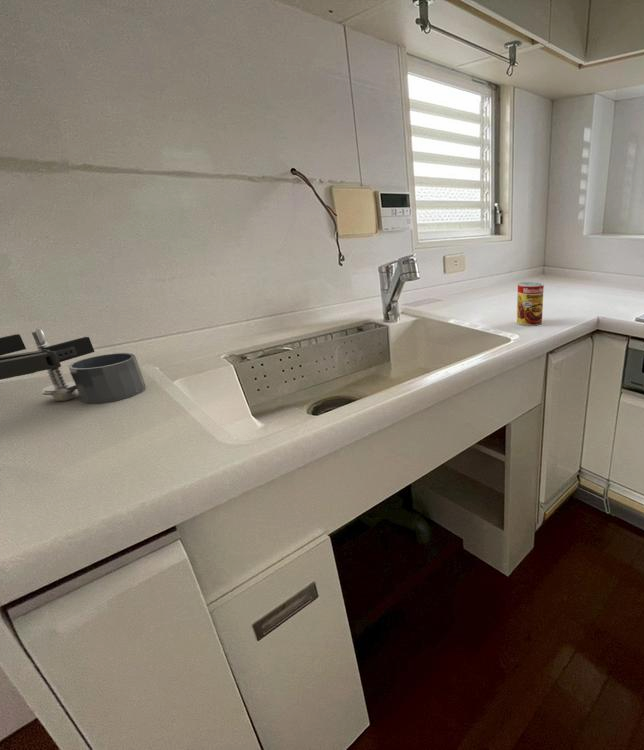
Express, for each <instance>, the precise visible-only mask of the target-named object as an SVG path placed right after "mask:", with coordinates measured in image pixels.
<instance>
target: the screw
mask: <svg viewBox="0 0 644 750" xmlns="http://www.w3.org/2000/svg"><path fill="white" fill-rule="evenodd" d="M31 335H32V337H33V339H34V341H35V344H36V346H35V347H36V348H37V351H40V350H42V348H44V347H48V346H52V345H50V341H48V339H47V337H46V335H45V333H44V331H43V330H42V329H39V328H34V329H33V330H32V331H31ZM46 371H47V372H46V374H48V377H49V380H51V383H52V384H51V385H49V386H46V387H44V388H43V390H42V391H41V393H42V395H44V396H52V397H53V399H54V401H55V402H65V401H69V400H73V399H75V397H76V396H77V393H76V391H77V388H76V386H75V383H74V381H67V379H66V376H65V374H64V373H63V370H62V367H58V369H56V370H53V371H52V369H48V370H46Z"/></svg>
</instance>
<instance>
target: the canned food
mask: <svg viewBox="0 0 644 750" xmlns="http://www.w3.org/2000/svg"><path fill="white" fill-rule="evenodd" d="M544 286H545V284H544V283H542V282H536V281H524V282H518V283H517V300H516V301H517V304H516V323H517V324H518V325H521V326H527V327H533V326H540V325H542V324H543V308H544V306H543V305H544V289H545V288H544Z"/></svg>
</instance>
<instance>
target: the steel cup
mask: <svg viewBox="0 0 644 750" xmlns="http://www.w3.org/2000/svg"><path fill="white" fill-rule="evenodd" d="M67 369H68V371H69V374H70V376H71V378H72V382H74V383H75V386H76V388H77V389H76V391H77V393H78V395H79V397H80V399H81V401H82V402H83V403H85V404H91V405H92V404H93V405H96V404H97V405H98V404H108V403H113V402H117V401H121V400H122V401H123V400H126V399H128V398H131V397H134V396H137V395H139V394H141V393H142V392H144V391H145V390H146V388H147V387H146V383H145V380H144V377H143V374H142V371H141V368H140V366H139V362H138V360H137V357H136V355H135V354H134V353H129V352H115V353H106V354H100V355H99V354H98V355H94V356H89V357H86V358H82V359H78V360H76V361H74V362H71V363H69V364H68V365H67Z"/></svg>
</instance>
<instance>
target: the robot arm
mask: <svg viewBox="0 0 644 750" xmlns="http://www.w3.org/2000/svg"><path fill="white" fill-rule="evenodd" d="M25 350H27V347H26V345H25V343H24V341H23V338H22V336H21V334H20V333H19V334H17V333H16V334H11V335H5V336H2V337H0V380H5V379H10V378H14V377H15V378H16V377H19V376H24V375H28V374H34V373H39V372H43V371H47V370H48V369H52V371H53V370H56V369H58V367H59V368H62V365H61V363H62V362H65V361H69V360H72V359H76V358H79V357H82V356H85V355H90V354H92V353H95V352H96V351H95V349H94V346H93V344H92V341H91V338H90V336H83V337H80V338H76V339H72V340H67V341H63V342H60V343H56V344H52V345H51V346H48V347H44V348H42V350H40V351H38V350H34V351H33V350H32V351H27V352H21V353H17V352H20V351H25Z"/></svg>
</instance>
